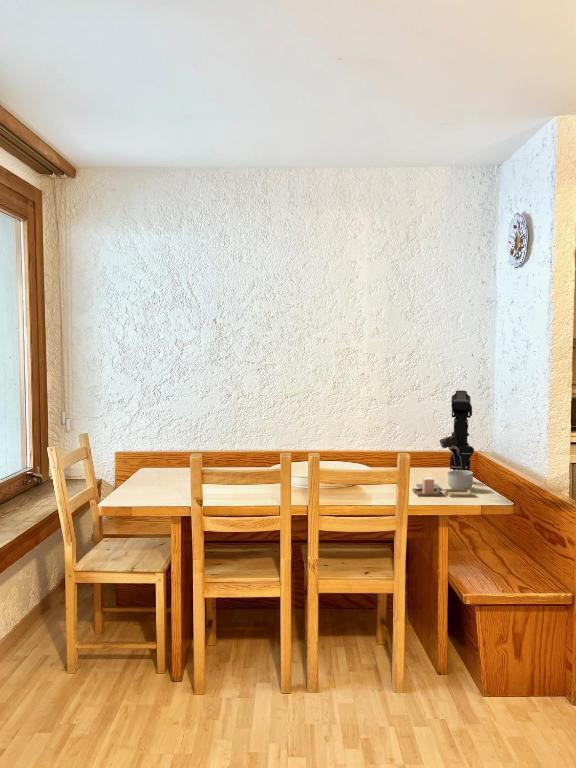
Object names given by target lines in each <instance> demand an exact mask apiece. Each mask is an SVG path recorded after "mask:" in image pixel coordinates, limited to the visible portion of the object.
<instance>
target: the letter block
mask: <svg viewBox="0 0 576 768" xmlns="http://www.w3.org/2000/svg"><path fill="white" fill-rule="evenodd" d="M421 484H422V493H423V494H434V484H435V480H434V479H433V478H432V477H422V483H421Z"/></svg>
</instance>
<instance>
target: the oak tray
mask: <svg viewBox="0 0 576 768" xmlns="http://www.w3.org/2000/svg"><path fill="white" fill-rule="evenodd" d="M442 493H444V495H447V497H449V498H477V494H475V493H474V492H473V491H471V490H470V489H452V488H450V489H447V488H445V489H442Z"/></svg>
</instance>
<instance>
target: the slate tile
mask: <svg viewBox="0 0 576 768" xmlns="http://www.w3.org/2000/svg"><path fill="white" fill-rule="evenodd" d="M416 487H417V489H422V483H416ZM434 489H439V490H440V491H441V492H443V489H442V487H441V486H439V485H438V484H437V483H434Z"/></svg>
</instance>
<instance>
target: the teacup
mask: <svg viewBox="0 0 576 768" xmlns="http://www.w3.org/2000/svg"><path fill="white" fill-rule="evenodd" d="M473 475H474V472H473V471H470V470H454V471H453V470H450V471H448V472H447V478H448V479H447V482H448V486H449V488H450V489H469V490H470V489H471V488H472V487H473V484H474V476H473Z"/></svg>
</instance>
